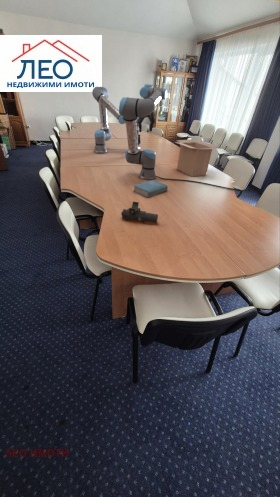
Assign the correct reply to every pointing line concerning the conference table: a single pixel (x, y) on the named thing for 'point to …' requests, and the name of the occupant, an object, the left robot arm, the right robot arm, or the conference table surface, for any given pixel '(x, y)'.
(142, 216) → the laser sight
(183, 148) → the box
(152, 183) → the book
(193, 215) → the conference table surface
